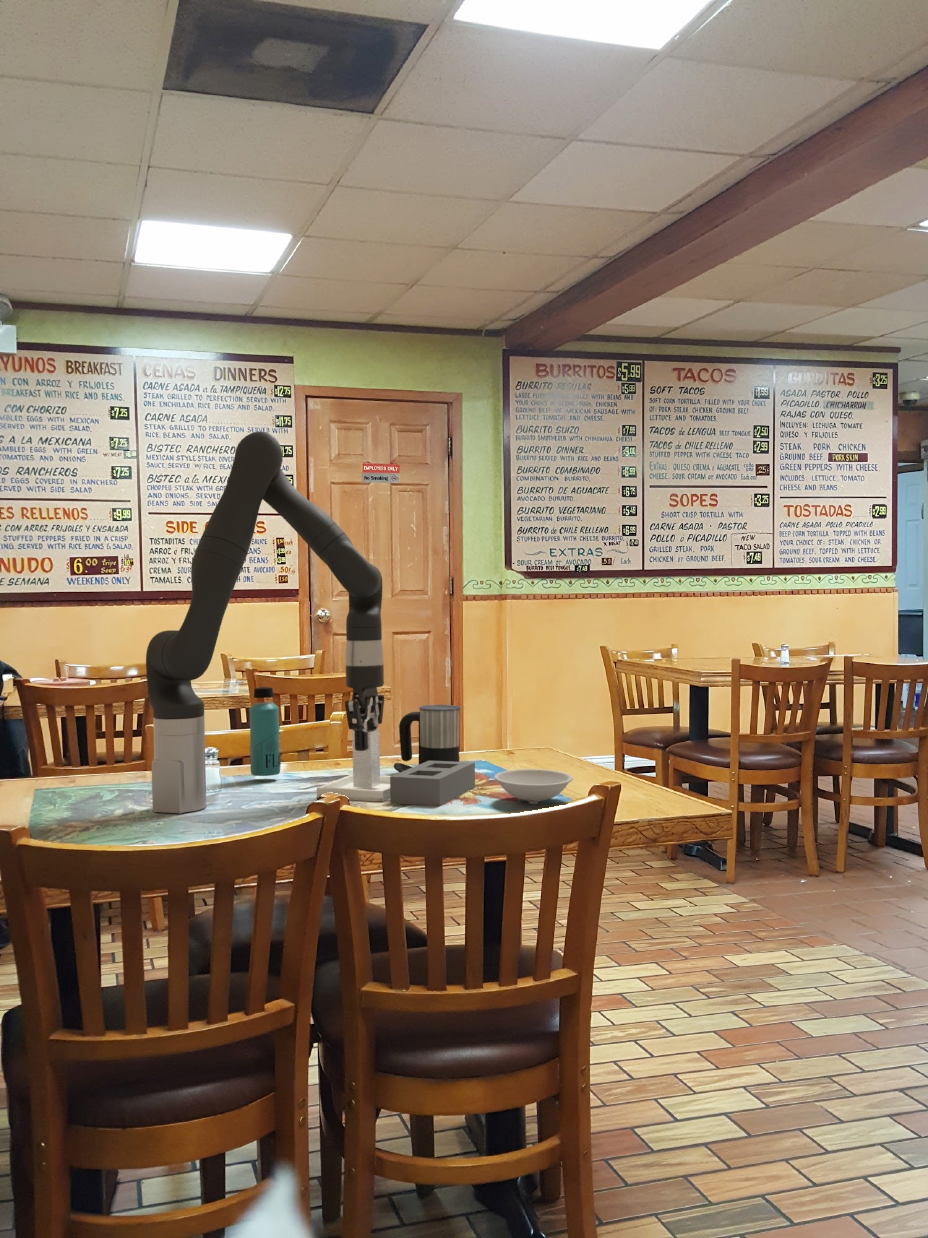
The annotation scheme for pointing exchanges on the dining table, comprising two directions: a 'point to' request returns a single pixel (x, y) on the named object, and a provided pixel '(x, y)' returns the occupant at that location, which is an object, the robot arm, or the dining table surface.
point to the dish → (533, 783)
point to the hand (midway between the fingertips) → (366, 748)
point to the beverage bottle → (264, 735)
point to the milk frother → (431, 734)
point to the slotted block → (432, 783)
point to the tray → (358, 789)
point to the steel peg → (367, 761)
